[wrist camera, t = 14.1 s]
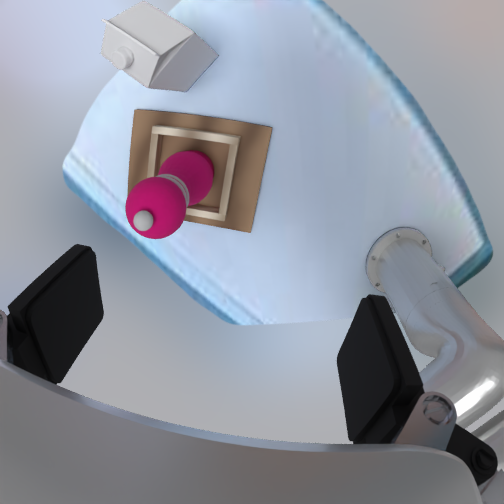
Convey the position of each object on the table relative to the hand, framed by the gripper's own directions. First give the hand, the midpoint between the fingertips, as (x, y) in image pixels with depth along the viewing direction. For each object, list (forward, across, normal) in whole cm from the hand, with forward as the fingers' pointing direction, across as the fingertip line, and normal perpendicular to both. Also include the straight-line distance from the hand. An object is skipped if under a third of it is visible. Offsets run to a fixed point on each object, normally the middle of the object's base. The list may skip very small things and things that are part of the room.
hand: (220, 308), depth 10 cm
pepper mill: (+34, +10, +4) cm, 36 cm away
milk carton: (+35, +13, -12) cm, 39 cm away
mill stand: (+35, +10, +4) cm, 37 cm away
